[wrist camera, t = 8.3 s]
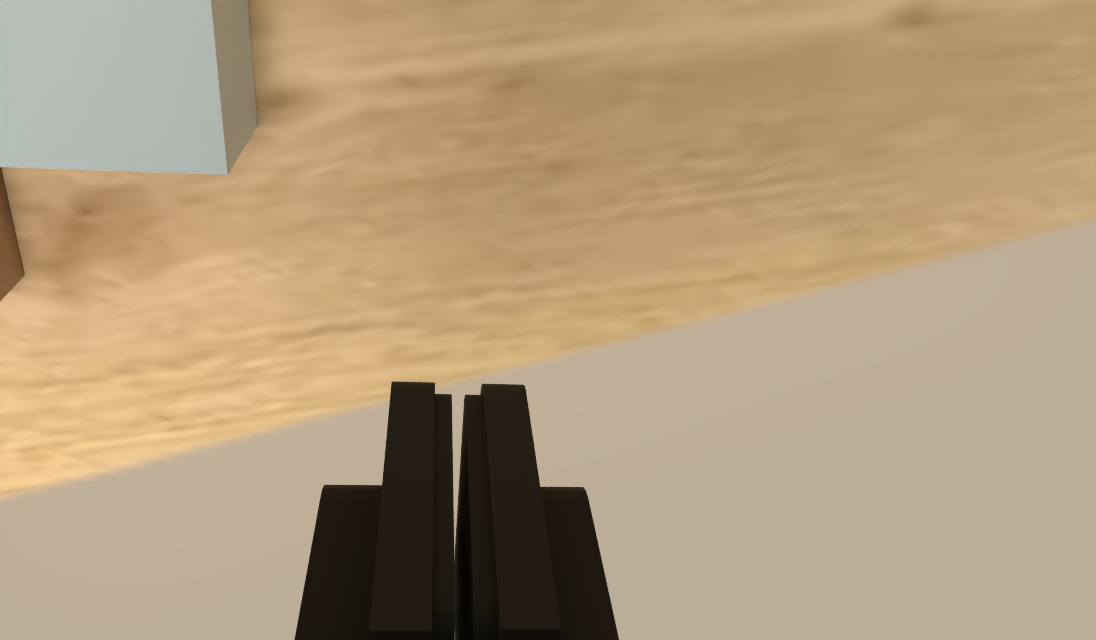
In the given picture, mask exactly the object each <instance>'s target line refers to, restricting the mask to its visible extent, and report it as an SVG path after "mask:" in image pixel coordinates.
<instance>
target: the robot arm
mask: <svg viewBox="0 0 1096 640" xmlns="http://www.w3.org/2000/svg"><path fill="white" fill-rule="evenodd" d="M463 413H464V414H463V430H462V445H461V462H460V479H459V494H458V511H457V512H458V513H457V527H456V544H455V563H454V516H453V515H454V514H453V513H454V512H453V511H454V510H453V451H452V450H453V449H452V395H451V394H435V383H429V382H392V385H391V395H390V406H389V418H388V429H387V439H386V450H385V462H384V472H383V483H382V486H381V485H324V487H323V489H322V494H321V498H320V503H319V509H318V514H317V520H316V525H315V531H314V536H313V542H312V547H311V553H310V558H309V564H308V569H307V575H306V580H305V586H304V591H303V597H302V602H301V608H300V614H299V619H298V624H297V630H296V635H295V640H454V639H455V640H619V638H618V633H617V628H616V624H615V619H614V615H613V610H612V605H611V601H610V596H609V592H608V587H607V583H606V578H605V573H604V569H603V564H602V560H601V555H600V550H599V546H598V541H597V537H596V532H595V528H594V523H593V518H592V514H591V509H590V505H589V500H588V496H587V493H586V490H585V489H584V488H583V487H540V483H539V476H538V470H537V462H536V456H535V449H534V442H533V435H532V429H531V423H530V415H529V409H528V402H527V395H526V389H525V386H524V385H510V384H509V385H508V384H482V387H481V394H480V395H465V399H464V412H463Z"/></svg>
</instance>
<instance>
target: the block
mask: <svg viewBox="0 0 1096 640" xmlns="http://www.w3.org/2000/svg"><path fill="white" fill-rule="evenodd" d="M256 126H257V111H256V98H255V85H254V72H253V59H252V46H251V33H250V20H249V7H248V0H0V167H13V168H41V169H70V170H98V171H127V172H156V173H184V174H213V175H228V174H229V172H230V170H231V168H232V167H233V165H234V163H235V162H236V160H237V158H238V157H239V155H240V153H241V151H242V150H243V148H244V146H245V145H246V143H247V141H248V140H249V138H250V136H251V135H252V133H253V131H254V129H255V128H256Z"/></svg>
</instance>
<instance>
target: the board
mask: <svg viewBox="0 0 1096 640" xmlns="http://www.w3.org/2000/svg"><path fill="white" fill-rule="evenodd" d="M23 276H24V271H23V267H22V262H21V258H20V253H19V249H18V244H17V240H16V235H15V231H14V226H13V222H12V217H11V213H10V208H9V204H8V199H7V195H6V190H5V185H4V181H3V176H2V172H1V167H0V301H1V300H2V299H3V298H4V297H5V296H6V295H7V293H8V292H9V291H10V290H11V289H12V288H13V287H14V286H15V285H16V284H17V282H18V281H19V280H20V279H21V278H22V277H23Z"/></svg>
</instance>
